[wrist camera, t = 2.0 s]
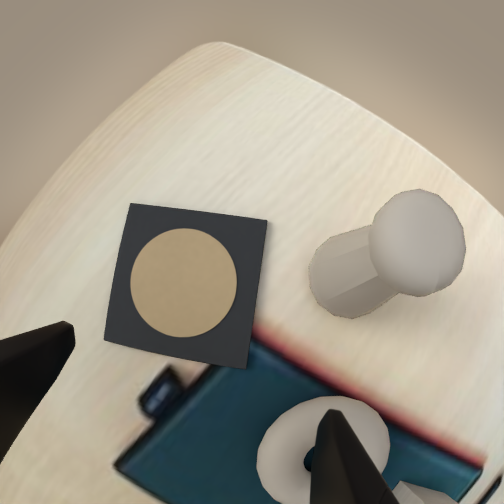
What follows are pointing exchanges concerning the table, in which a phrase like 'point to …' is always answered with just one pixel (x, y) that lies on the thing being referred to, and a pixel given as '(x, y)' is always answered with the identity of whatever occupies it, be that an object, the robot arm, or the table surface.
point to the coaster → (186, 284)
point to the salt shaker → (390, 256)
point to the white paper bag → (419, 495)
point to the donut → (313, 444)
